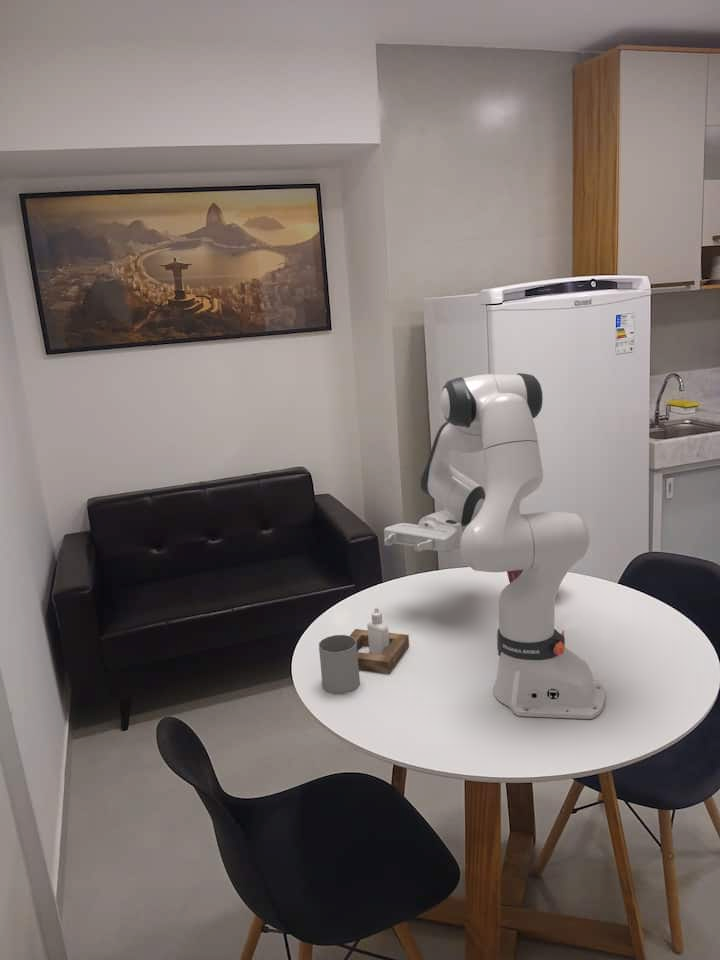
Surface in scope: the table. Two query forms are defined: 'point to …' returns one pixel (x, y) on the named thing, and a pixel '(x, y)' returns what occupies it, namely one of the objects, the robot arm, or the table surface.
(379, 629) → the eye dropper bottle
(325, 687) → the cup
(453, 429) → the robot arm
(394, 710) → the table surface
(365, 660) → the socket block
